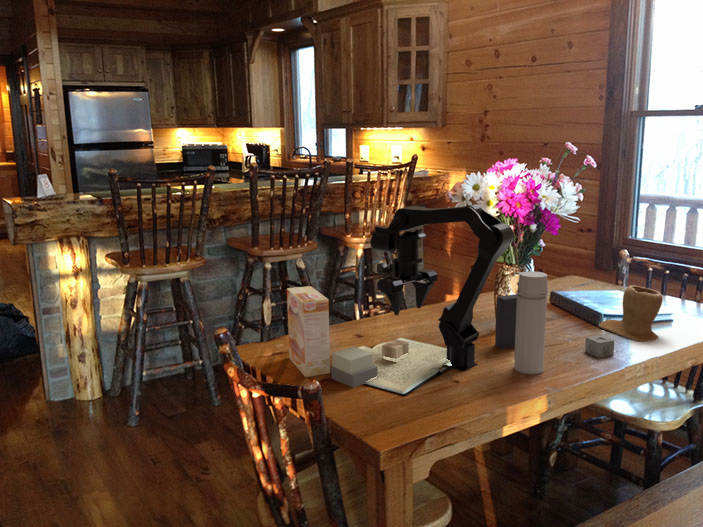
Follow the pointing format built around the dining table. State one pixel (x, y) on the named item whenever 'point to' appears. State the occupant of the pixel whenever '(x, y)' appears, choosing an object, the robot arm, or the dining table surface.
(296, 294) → the coffeecake box
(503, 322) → the dark upright pillar
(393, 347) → the wood block
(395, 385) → the dining table surface
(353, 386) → the tower base
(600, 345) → the grey cube
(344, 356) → the tower top
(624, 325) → the brown hollow flared piece
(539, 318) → the water bottle
